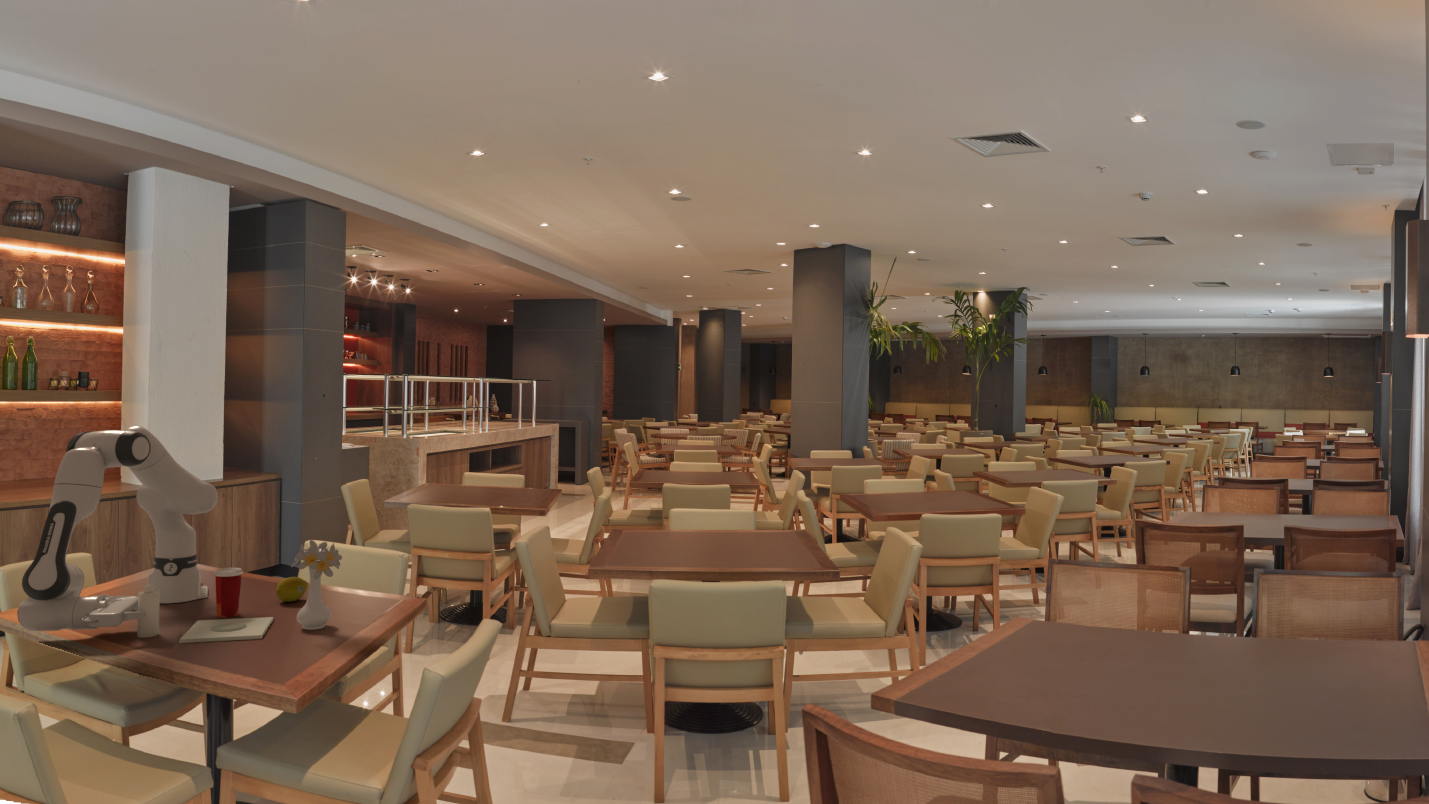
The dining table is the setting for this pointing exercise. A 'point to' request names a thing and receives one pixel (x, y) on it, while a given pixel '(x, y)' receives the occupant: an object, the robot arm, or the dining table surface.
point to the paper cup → (228, 591)
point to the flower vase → (316, 583)
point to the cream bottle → (148, 612)
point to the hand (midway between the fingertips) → (149, 610)
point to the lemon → (291, 589)
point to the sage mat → (227, 629)
